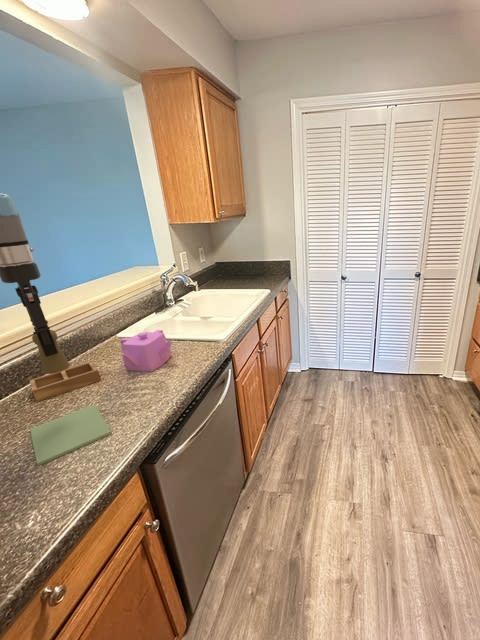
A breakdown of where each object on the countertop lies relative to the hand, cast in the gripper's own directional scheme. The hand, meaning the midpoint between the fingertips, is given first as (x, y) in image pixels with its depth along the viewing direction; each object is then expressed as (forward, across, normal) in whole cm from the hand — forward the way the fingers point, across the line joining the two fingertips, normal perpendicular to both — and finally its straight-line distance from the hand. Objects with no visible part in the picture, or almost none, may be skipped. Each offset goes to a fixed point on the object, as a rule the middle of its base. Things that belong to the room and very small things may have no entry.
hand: (50, 351), depth 86 cm
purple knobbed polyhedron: (+21, +17, -28) cm, 39 cm away
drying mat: (+21, -8, +2) cm, 23 cm away
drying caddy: (+21, +23, -2) cm, 31 cm away
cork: (+5, 0, 0) cm, 5 cm away
